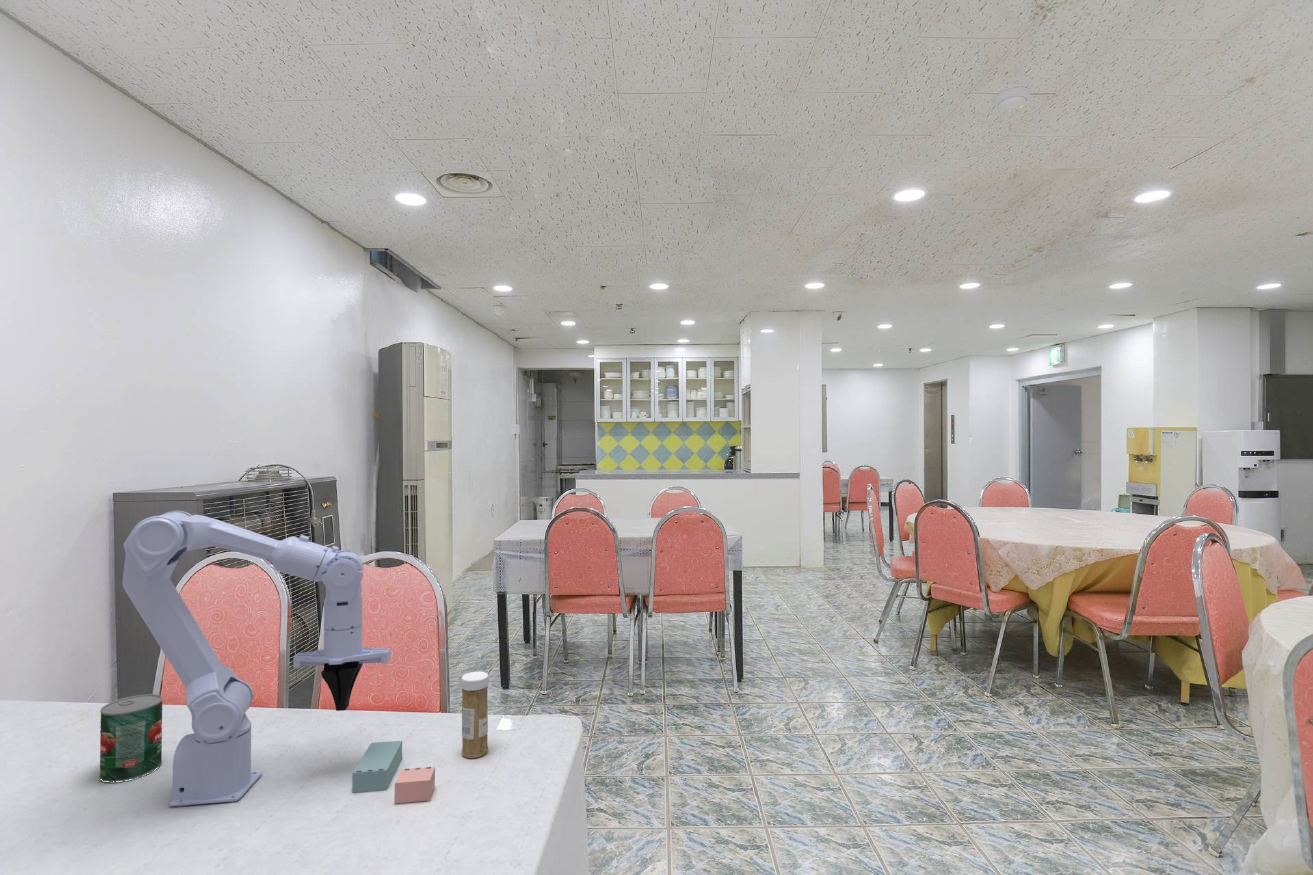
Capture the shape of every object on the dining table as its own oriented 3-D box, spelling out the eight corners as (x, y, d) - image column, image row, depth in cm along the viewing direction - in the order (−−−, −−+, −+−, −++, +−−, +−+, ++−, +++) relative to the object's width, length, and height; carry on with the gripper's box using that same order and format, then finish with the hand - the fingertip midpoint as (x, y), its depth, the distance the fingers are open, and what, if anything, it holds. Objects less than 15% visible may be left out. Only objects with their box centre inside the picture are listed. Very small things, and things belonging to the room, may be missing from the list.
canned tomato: (172, 764, 104) (173, 698, 105) (115, 787, 97) (116, 716, 98) (145, 754, 108) (146, 690, 108) (88, 776, 101) (89, 708, 101)
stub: (394, 803, 93) (394, 782, 93) (401, 788, 97) (401, 768, 97) (429, 800, 94) (429, 779, 94) (434, 786, 98) (434, 766, 98)
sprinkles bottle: (491, 754, 108) (492, 676, 108) (465, 761, 105) (465, 681, 106) (483, 744, 112) (483, 668, 112) (457, 750, 109) (458, 673, 109)
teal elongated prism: (352, 792, 96) (352, 772, 96) (371, 760, 106) (371, 742, 106) (386, 789, 97) (386, 769, 97) (402, 758, 107) (402, 739, 107)
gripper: (285, 634, 98) (284, 721, 98) (382, 630, 101) (382, 715, 101) (303, 622, 105) (302, 703, 105) (393, 618, 108) (393, 698, 108)
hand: (342, 708), depth 103 cm, fingers closed
